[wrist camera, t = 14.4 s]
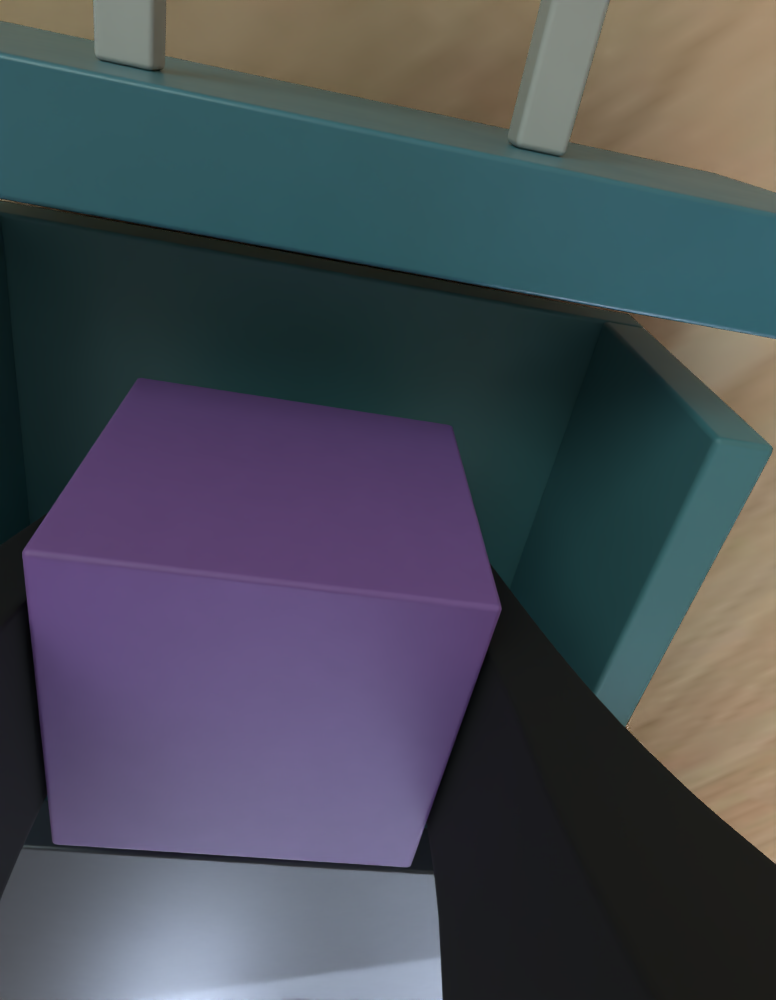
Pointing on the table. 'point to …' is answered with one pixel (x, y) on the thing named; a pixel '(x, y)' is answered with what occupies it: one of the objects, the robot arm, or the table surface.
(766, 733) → the table surface
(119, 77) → the drawer
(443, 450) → the block
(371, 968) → the cabinet
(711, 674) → the table surface
